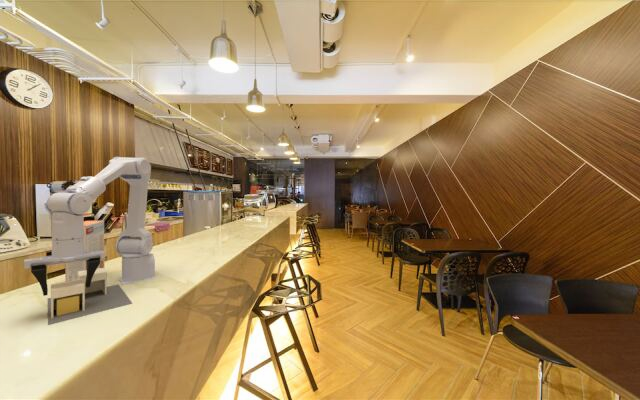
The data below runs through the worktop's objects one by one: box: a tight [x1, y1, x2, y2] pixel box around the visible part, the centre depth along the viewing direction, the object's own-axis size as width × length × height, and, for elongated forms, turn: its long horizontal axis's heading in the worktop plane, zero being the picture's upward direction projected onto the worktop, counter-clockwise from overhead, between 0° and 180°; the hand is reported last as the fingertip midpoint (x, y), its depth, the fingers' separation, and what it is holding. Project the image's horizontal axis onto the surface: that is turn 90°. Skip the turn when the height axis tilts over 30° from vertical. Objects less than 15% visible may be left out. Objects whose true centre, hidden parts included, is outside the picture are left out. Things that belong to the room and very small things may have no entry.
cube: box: [56, 294, 79, 316], centre depth 64 cm, size 4×4×4 cm
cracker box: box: [64, 220, 105, 282], centre depth 85 cm, size 14×6×21 cm, turn 23°
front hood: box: [50, 279, 85, 319], centre depth 64 cm, size 6×6×7 cm
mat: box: [47, 284, 133, 326], centre depth 70 cm, size 16×20×1 cm
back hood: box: [78, 267, 108, 295], centre depth 74 cm, size 6×6×7 cm
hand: (67, 290), depth 64 cm, fingers open, 7 cm apart
